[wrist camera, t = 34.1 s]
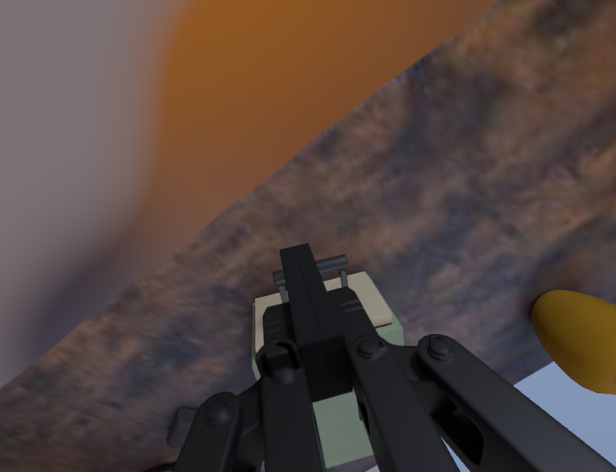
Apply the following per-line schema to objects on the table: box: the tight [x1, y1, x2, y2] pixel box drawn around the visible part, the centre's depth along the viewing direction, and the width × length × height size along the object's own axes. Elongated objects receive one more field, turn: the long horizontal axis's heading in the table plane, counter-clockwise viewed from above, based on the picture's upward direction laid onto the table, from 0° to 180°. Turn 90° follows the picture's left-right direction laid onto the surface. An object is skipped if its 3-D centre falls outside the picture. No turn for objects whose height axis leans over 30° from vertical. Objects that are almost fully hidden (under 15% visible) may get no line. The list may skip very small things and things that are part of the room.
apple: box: [531, 289, 616, 395], centre depth 39 cm, size 11×11×13 cm
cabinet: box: [252, 274, 404, 468], centre depth 36 cm, size 20×15×10 cm
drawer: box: [255, 254, 393, 353], centre depth 34 cm, size 25×13×8 cm, turn 10°
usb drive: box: [167, 408, 198, 449], centre depth 42 cm, size 5×12×3 cm, turn 63°
